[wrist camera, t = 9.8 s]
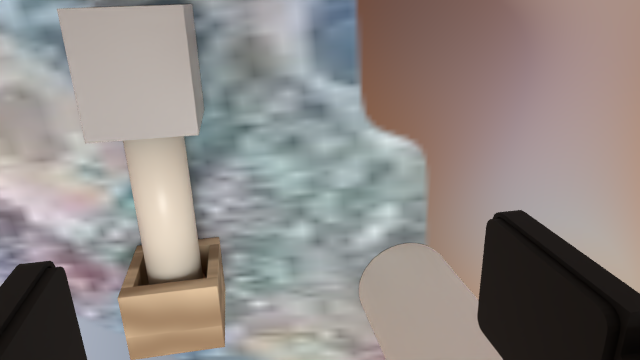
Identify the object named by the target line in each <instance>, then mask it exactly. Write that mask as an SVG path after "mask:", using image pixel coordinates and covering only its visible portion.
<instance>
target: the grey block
mask: <svg viewBox="0 0 640 360" xmlns="http://www.w3.org/2000/svg"><path fill="white" fill-rule="evenodd" d="M57 11H58V16H59V21H60V26H61V31H62V35H63V40H64V45H65V50H66V54H67V59H68V64H69V69H70V73H71V78H72V83H73V88H74V92H75V97H76V102H77V107H78V112H79V116H80V121H81V126H82V131H83V135H84V140H85V143H98V142H112V141H126V140H139V139H153V138H166V137H180V136H194V135H199V132H200V127H201V123H202V118H203V114H204V102H203V94H202V85H201V76H200V68H199V59H198V51H197V42H196V33H195V25H194V16H193V8H192V4H181V5H150V6H120V7H90V8H66V9H57Z"/></svg>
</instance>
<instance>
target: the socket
mask: <svg viewBox="0 0 640 360" xmlns="http://www.w3.org/2000/svg"><path fill="white" fill-rule="evenodd" d="M198 243H199V251H200V258H201V266H202V273H203V274H204V275H205V277H206V278H204V279H195V280H187V281H178V282H170V283H161V284H153V285H148V284H149V281H148V275H147V270H146V264H145V259H144V253H143V248H142V245H140V246H137V248H136V250H135V253H134V256H133V259H132V261H131V264H130V267H129V269H128V272H127V275H126V277H125V280H124V283H123V285H122V288H121V291H120V293H119V296H118V302H119V307H120V312H121V316H122V321H123V326H124V331H125V335H126V340H127V345H128V350H129V355H130V359H131V360H135V359H142V358H149V357H156V356H163V355H170V354H177V353H184V352H191V351H198V350H205V349H213V348H220V347H225V283H224V274H223V266H222V257H221V249H220V240H219V237H216V238H206V239H198Z"/></svg>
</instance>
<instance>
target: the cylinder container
mask: <svg viewBox="0 0 640 360" xmlns="http://www.w3.org/2000/svg"><path fill="white" fill-rule="evenodd" d="M359 298H360V301H361V304H362V306H363V309H364V311H365V313H366V315H367V318H368V320H369V322H370V324H371V327H372V329H373V331H374V334H375V336H376V338H377V340H378V343H379V345H380V347H381V349H382V352H383V354H384V356H385V359H386V360H503V359H502V357H501V356H500V355H499V353H498V352H497V351H496V349H495V348H494V347H493V346H492V344H491V343H490V342H489V340H488V339H487V338H486V336H485V335H484V334H483V333H482V331H481V329H480V327H479V324H478V319H477V313H478V303H479V300H478V299H477V298H476V297H475V295H474V294H473V293H472V292H471V291H470V289H469V288H468V287H467V286H466V285H465V284H464V282H463V281H462V280H461V279H460V278H459V277H458V275H457V274H456V273H455V272H454V270H453V269H452V268H451V267H450V266H449V264H448V263H447V262H446V261H445V260H444V259H443V257H442V256H441V255H440V254H439V253H438V252H437V251H435V250H434V249H433V248H431V247H429V246H426V245H423V244H418V243H405V244H400V245H396V246H393V247H391V248H388V249H387V250H385V251H383V252H381V253H380V254H379V255H377V256H376V257H375V258H374V259H373V260H372V261H371V262H370V263H369V265H368V266H367V267H366V269H365V271H364V272H363V274H362V277H361V280H360V284H359Z"/></svg>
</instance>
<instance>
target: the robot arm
mask: <svg viewBox="0 0 640 360" xmlns="http://www.w3.org/2000/svg"><path fill="white" fill-rule="evenodd" d="M477 319H478V324H479V327H480V329H481V331H482V333H483V334H484V335H485V336H486V338H487V339H488V340H489V342H490V343H491V344H492V346H493V347H494V348H495V349H496V351H497V352H498V353H499V355H500V356H501V357H502V359H503V360H640V294H639V293H638V292H636V291H635V290H634V289H632V288H631V287H629V286H628V285H627V284H625V283H624V282H622V281H621V280H620V279H618V278H617V277H615V276H614V275H612V274H611V273H610V272H608V271H607V270H606V269H604V268H603V267H601V266H600V265H599V264H597V263H596V262H594V261H593V260H591V259H590V258H589V257H587V256H586V255H584V254H583V253H582V252H580V251H579V250H577V249H576V248H575V247H573V246H572V245H570V244H569V243H567V242H566V241H565V240H563V239H562V238H560V237H559V236H558V235H556V234H555V233H553V232H552V231H551V230H549V229H548V228H546V227H545V226H544V225H542V224H541V223H539V222H538V221H537V220H535V219H534V218H532V217H531V216H529V215H528V214H527V213H525V212H524V211H522V210H518V211H508V212H498V213H496V214H495V215H494V217H493V219H490V220H489V221H488V223H487V226H486V235H485V244H484V255H483V264H482V275H481V283H480V293H479V303H478V313H477ZM0 360H87V357H86V353H85V349H84V345H83V341H82V337H81V333H80V329H79V325H78V321H77V317H76V313H75V309H74V305H73V301H72V297H71V293H70V289H69V285H68V281H67V277H66V273H65V270H64V269H63V268H62V267H55V265H54V264H53V262H51V261H44V262H35V263H26V264H19V265H18V266H17V267H16V268H15V269H14V270H13V271H12V273H11V274H10V275H9V276H8V278H7V279H6V280H5V281H4V283H3V284H2V285H1V286H0Z"/></svg>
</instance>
